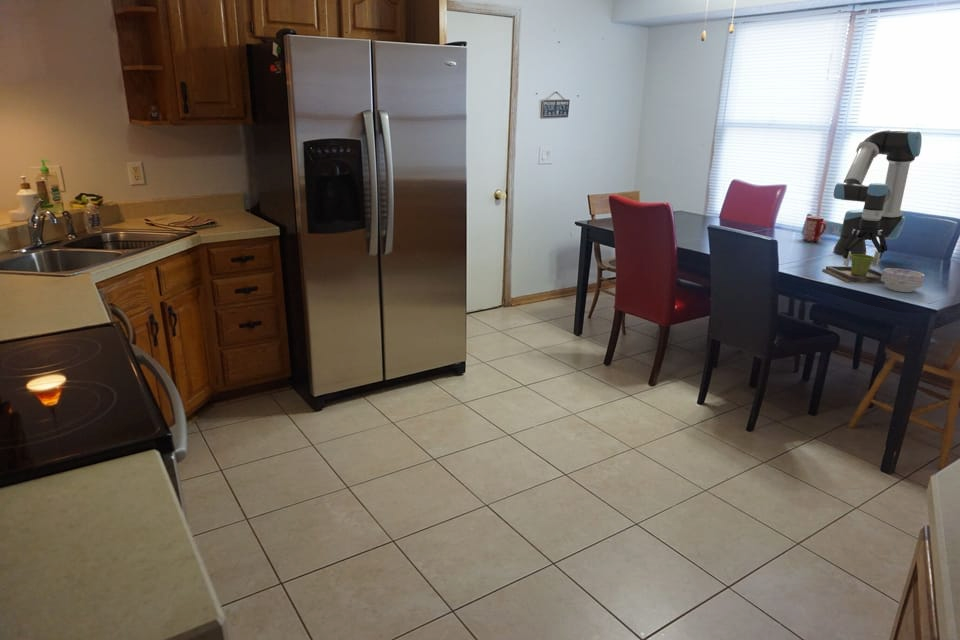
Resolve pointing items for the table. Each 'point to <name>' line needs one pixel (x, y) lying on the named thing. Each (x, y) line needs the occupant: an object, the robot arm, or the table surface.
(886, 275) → the paper bowls
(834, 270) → the wooden tray
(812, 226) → the mug
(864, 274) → the plant pot
